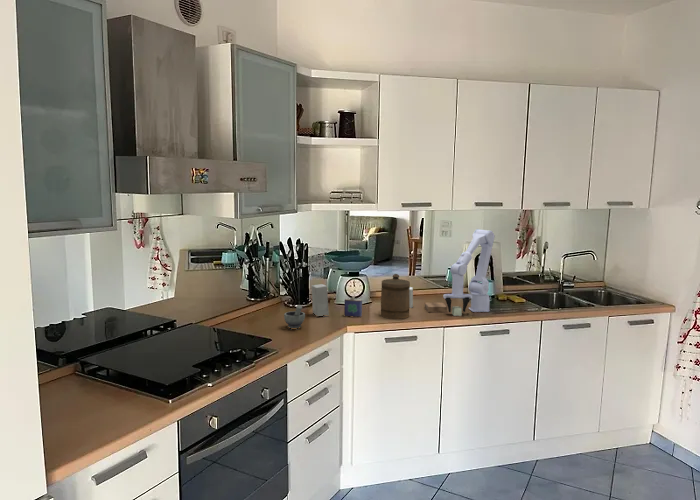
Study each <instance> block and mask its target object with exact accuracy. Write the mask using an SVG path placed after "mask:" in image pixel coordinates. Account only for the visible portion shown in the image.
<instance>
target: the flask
mask: <svg viewBox="0 0 700 500" xmlns="http://www.w3.org/2000/svg"><path fill="white" fill-rule="evenodd" d="M355 298H356V296H355V295H353V296H351V297H347V298H344V313H343V314H344V315H345V316H344V317H346V316H353V317H352V318H362V317H363V300H362V299H355Z"/></svg>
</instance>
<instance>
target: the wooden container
mask: <svg viewBox="0 0 700 500" xmlns="http://www.w3.org/2000/svg"><path fill="white" fill-rule="evenodd" d="M410 287H411V284H410V281H409V280H406V279H402V278H401V279H400V275H399V274H398V273H394V274H392V278H387V279H382V280H381V288H380V291H381V292H380V316H381V317H382V318H386V319H389V320H403V319H406V318H409V317H410V297H409V293H410Z"/></svg>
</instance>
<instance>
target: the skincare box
mask: <svg viewBox="0 0 700 500" xmlns="http://www.w3.org/2000/svg"><path fill="white" fill-rule="evenodd" d="M328 296H329V295H328V286H327V285H326V284H323V283H319V284H311V302H312V314H313V313H314V314H315V315H317V316H323V315H329V313H330V312H329V299H328V298H329V297H328ZM314 314H313V315H314ZM315 315H314V316H315ZM317 316H316V317H317ZM329 316H330V315H329ZM323 317H324V316H323Z"/></svg>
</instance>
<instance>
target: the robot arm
mask: <svg viewBox="0 0 700 500" xmlns="http://www.w3.org/2000/svg"><path fill="white" fill-rule="evenodd" d="M471 237H472V239H471V241H470V242H469V245H468V247H467V249H466V250H465V251H463V252H462V253H461V254H460V256H459V257H458V259H457V260H456V261H455V262H454V263H453V264H452V265H451V267H450V269H449V270H450V271H449V272H450V273H451V278H452V280H451V281H452V282H451V284H452V285H451V293H444V294H443V296H442V297H443V299H444V300H445V303H446V306H447V312H449V313H452V301H453V300H452V299H462V312H463V313H466V310H467V307H468V304H469V303H470V307H468V309H469V310H470V311H471V312H474V313H477V312H478V313H481V312H483V313H484V312H485V313H487V312H490V303H491V302H490V295H489V294H488V292H489V288H490V287H489V283H490V281H489V280H488V279H487V273H488V267H489V263H490V258H491V255H492V250H493V246H494V241H495V238H496V235H495V233H494V232H493V230H491V229H490V230H488V229H479V228H476V229H475V230H474V231H473V233H472V235H471ZM479 246H480V247H481V248H480V249H481V251H480V254H479V257H478V262H477V267H476V268H477V269H476V272H475V276H473V277H471V279H470V282H469V284H468V286H467V287H468V291H469V292H470V293H464V278H465V277H464V276H465V274H467V269H468V265H469V263H470V262H471V261H472V260H473V253H474V252H475V250H477V249H478V247H479Z"/></svg>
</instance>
